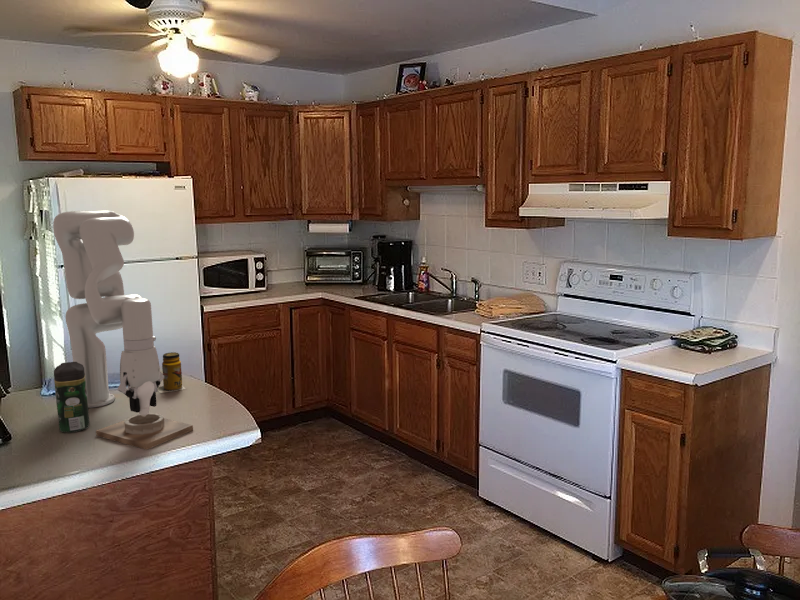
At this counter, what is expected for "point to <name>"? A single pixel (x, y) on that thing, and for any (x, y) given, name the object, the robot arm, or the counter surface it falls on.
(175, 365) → the condiment
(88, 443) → the counter surface
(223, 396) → the counter surface
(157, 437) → the socket board
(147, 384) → the lightbulb
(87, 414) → the coffee jar
